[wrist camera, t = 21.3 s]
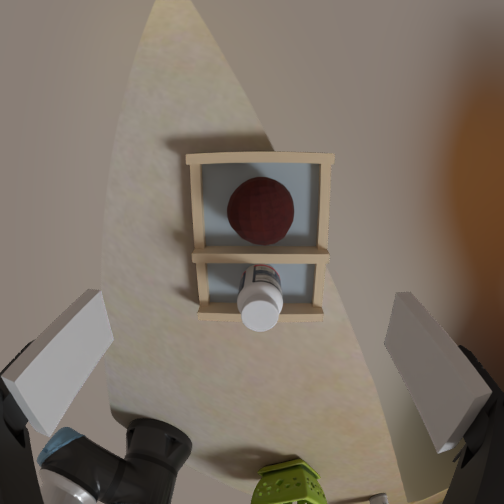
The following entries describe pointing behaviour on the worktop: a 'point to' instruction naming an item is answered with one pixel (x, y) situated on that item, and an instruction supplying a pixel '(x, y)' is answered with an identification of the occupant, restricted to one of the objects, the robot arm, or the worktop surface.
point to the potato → (261, 211)
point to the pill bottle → (260, 297)
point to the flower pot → (288, 484)
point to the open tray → (247, 254)
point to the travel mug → (379, 499)
